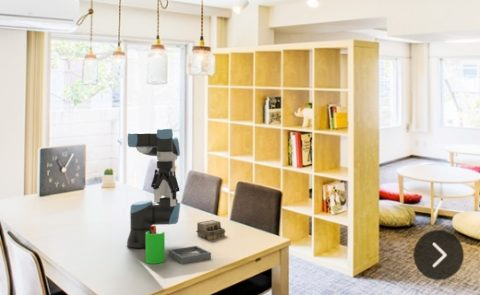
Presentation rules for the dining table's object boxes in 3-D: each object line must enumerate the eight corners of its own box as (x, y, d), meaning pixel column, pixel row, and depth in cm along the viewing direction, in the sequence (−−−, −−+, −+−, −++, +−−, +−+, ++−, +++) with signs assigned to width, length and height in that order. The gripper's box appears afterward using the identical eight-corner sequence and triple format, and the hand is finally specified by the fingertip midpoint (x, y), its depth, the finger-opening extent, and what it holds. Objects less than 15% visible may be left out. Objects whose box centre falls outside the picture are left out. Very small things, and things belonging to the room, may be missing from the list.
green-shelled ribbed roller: (165, 258, 204) (165, 223, 204) (163, 263, 196) (162, 226, 196) (147, 259, 204) (147, 223, 204) (143, 263, 196) (143, 226, 196)
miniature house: (192, 242, 238) (192, 222, 238) (211, 238, 248) (211, 219, 248) (208, 247, 227) (208, 226, 227) (227, 242, 237) (227, 223, 237)
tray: (168, 255, 210) (168, 250, 210) (196, 251, 218) (196, 245, 218) (181, 263, 196) (181, 257, 196) (210, 258, 205) (210, 252, 205)
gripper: (143, 159, 204) (144, 201, 205) (173, 162, 186) (173, 208, 187) (156, 158, 209) (156, 199, 210) (186, 161, 191) (186, 206, 192)
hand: (164, 204), depth 198 cm, fingers open, 13 cm apart
